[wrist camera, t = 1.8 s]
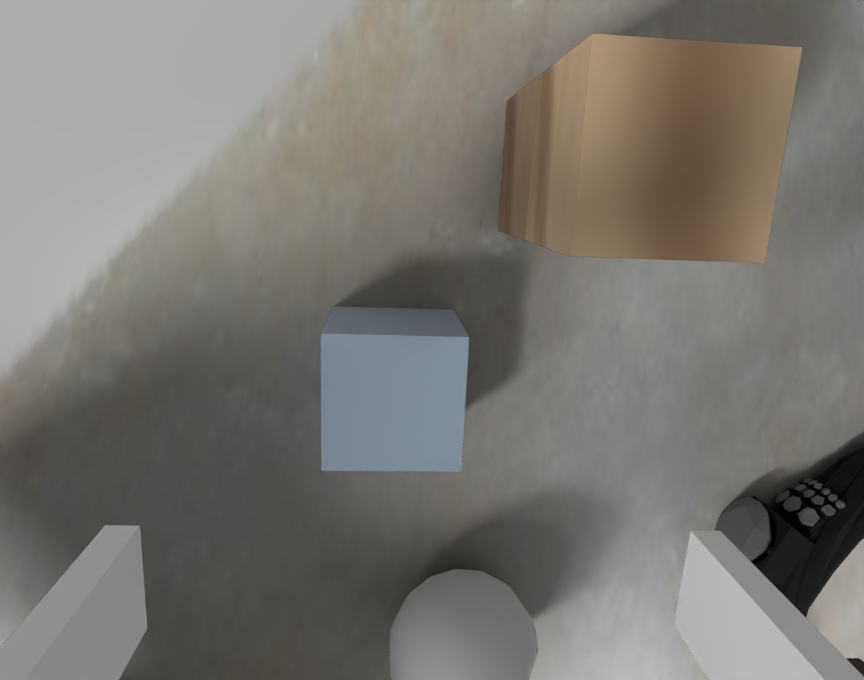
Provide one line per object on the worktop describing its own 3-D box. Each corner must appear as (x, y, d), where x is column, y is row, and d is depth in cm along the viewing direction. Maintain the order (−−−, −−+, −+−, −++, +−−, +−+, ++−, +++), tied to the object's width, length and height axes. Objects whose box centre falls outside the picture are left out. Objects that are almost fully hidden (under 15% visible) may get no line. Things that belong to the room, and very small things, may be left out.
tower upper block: (525, 240, 23) (570, 256, 17) (538, 76, 22) (592, 33, 16) (672, 245, 24) (764, 262, 18) (694, 85, 22) (802, 47, 16)
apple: (361, 598, 33) (353, 720, 26) (465, 515, 33) (488, 615, 25) (448, 678, 35) (464, 815, 27) (548, 601, 34) (594, 720, 27)
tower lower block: (498, 230, 29) (525, 240, 23) (506, 101, 28) (538, 76, 22) (616, 235, 29) (672, 245, 24) (631, 107, 28) (694, 85, 22)
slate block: (334, 418, 31) (321, 471, 25) (334, 305, 29) (320, 333, 24) (447, 420, 31) (461, 471, 25) (453, 309, 30) (469, 337, 24)
